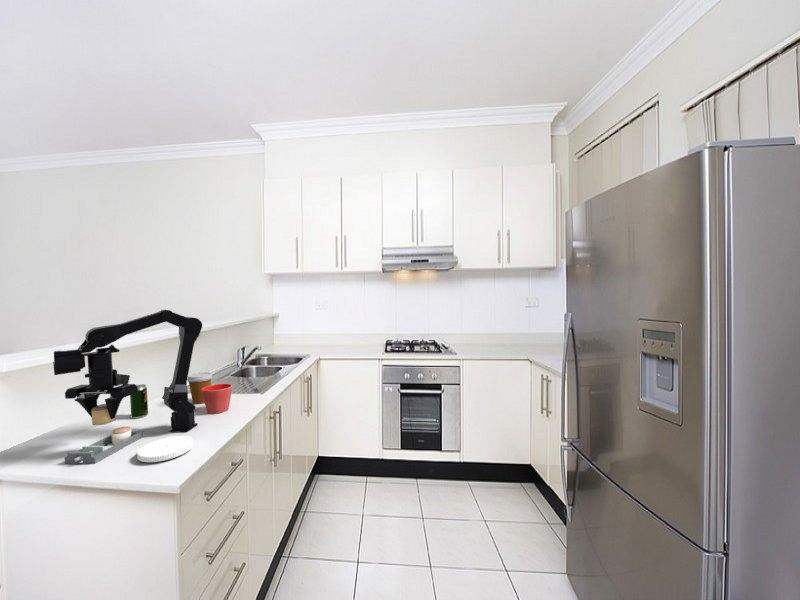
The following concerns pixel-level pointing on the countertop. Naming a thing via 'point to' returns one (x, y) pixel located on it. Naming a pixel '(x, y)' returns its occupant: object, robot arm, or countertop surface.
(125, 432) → the cream jar
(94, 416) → the amber jar
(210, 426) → the countertop surface
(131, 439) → the lane
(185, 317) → the robot arm
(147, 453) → the plastic lid
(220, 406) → the flower pot
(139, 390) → the beer can
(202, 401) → the disposable coffee cup
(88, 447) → the pusher
